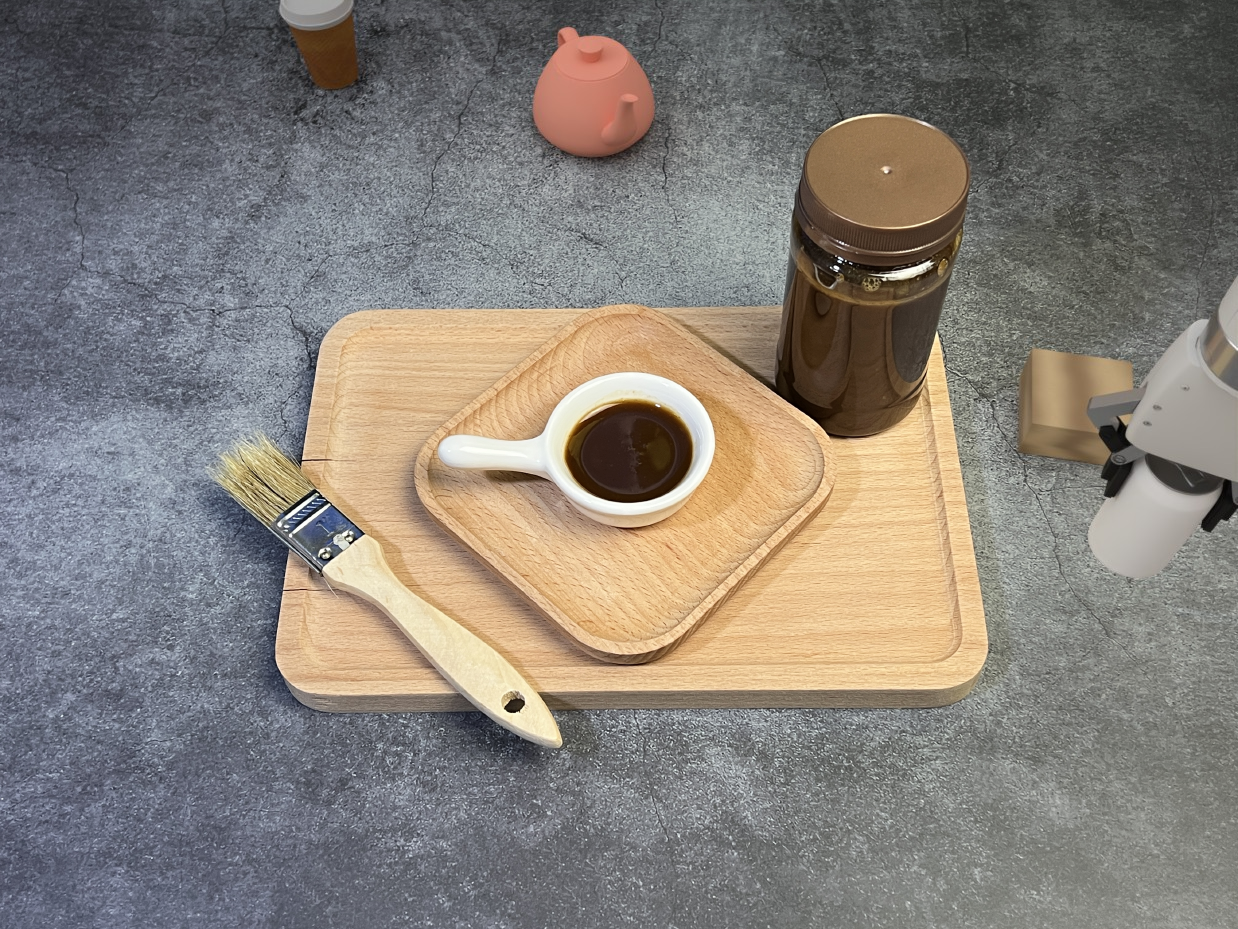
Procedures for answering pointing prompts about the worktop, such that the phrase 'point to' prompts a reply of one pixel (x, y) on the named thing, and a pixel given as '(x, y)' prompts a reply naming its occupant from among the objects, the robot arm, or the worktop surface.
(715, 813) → the worktop surface
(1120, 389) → the block
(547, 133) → the teapot
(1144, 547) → the can
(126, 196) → the worktop surface
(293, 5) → the disposable coffee cup
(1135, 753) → the worktop surface
